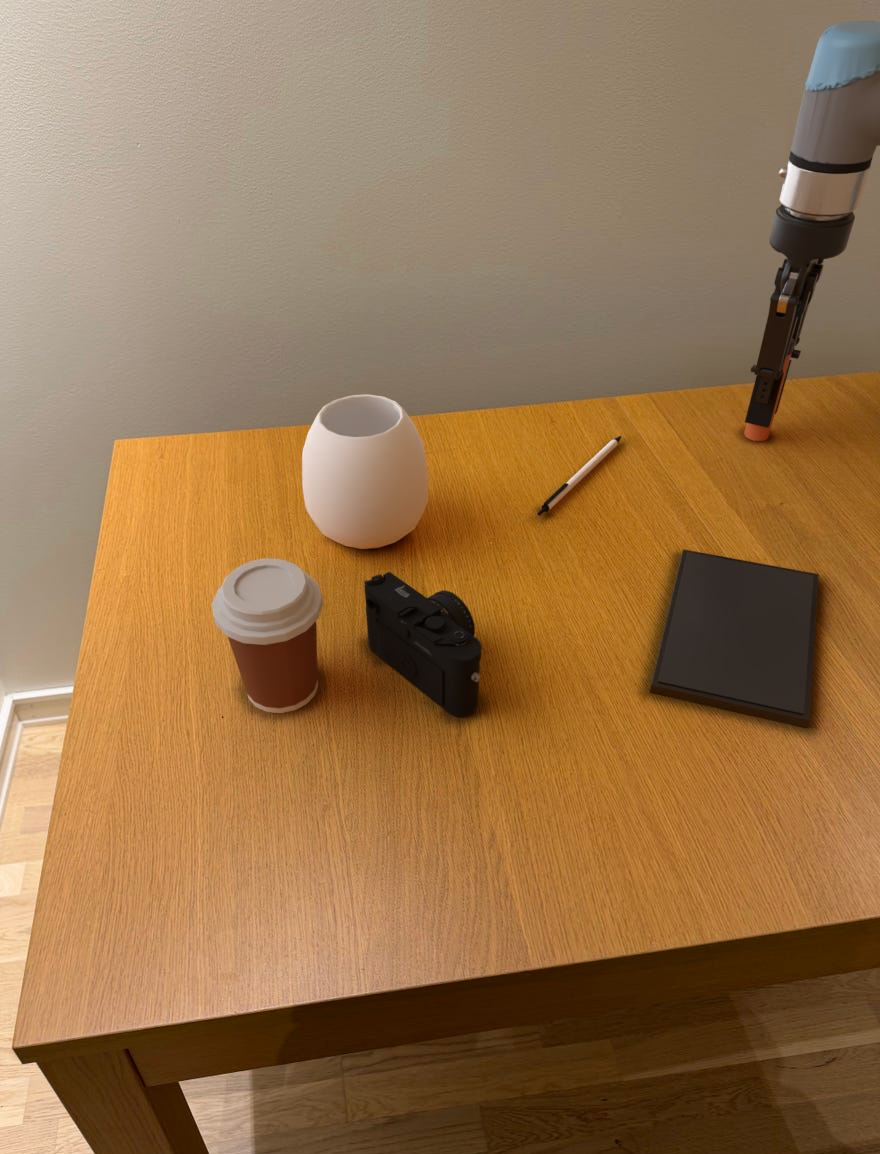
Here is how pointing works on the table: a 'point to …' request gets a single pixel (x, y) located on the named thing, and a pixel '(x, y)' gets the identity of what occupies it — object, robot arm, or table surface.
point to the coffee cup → (272, 631)
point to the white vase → (364, 472)
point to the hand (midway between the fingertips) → (761, 416)
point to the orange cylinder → (762, 432)
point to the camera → (425, 641)
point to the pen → (578, 476)
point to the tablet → (740, 638)
